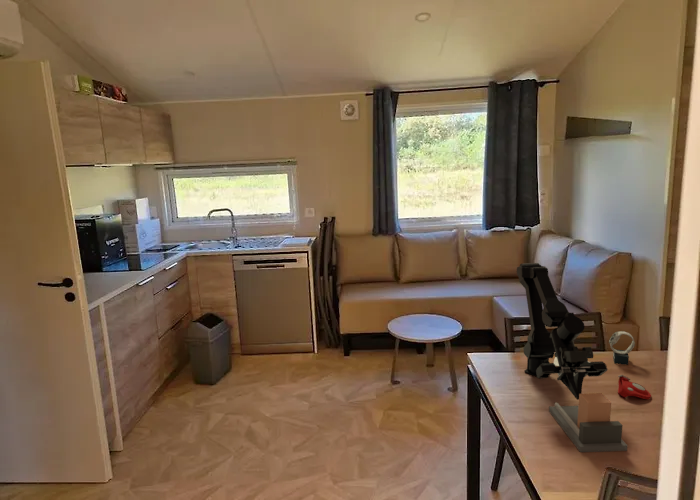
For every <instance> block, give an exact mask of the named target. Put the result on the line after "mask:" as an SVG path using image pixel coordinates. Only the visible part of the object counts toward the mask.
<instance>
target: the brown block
mask: <svg viewBox="0 0 700 500" xmlns="http://www.w3.org/2000/svg"><path fill="white" fill-rule="evenodd" d="M577 406H578V422H577V427H578V428H579V427H580V422H604V421H611V415H612V414H611V412H612V401H611V400H609V398H607V397H606V396H605V395H604V393H603V392H594V393H593V392H592V393H588V392H587V393H581V394H579V400H578V405H577Z"/></svg>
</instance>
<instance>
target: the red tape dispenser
mask: <svg viewBox="0 0 700 500" xmlns="http://www.w3.org/2000/svg"><path fill="white" fill-rule="evenodd" d="M617 378H618V383H617V384H618V389H617V394H618V395H619V396H621V397H622V398H624V399H625V398H627V397H637V398H640V399H643V400H651V398H652V394H651V393H650V391H648V390H647V389H646V388H645V387H644V386H642V385H640V384H639V383H636V382H632V381H631V378H630V377H628V376H627V375H623V374H620V375H619V374H618V377H617Z"/></svg>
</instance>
